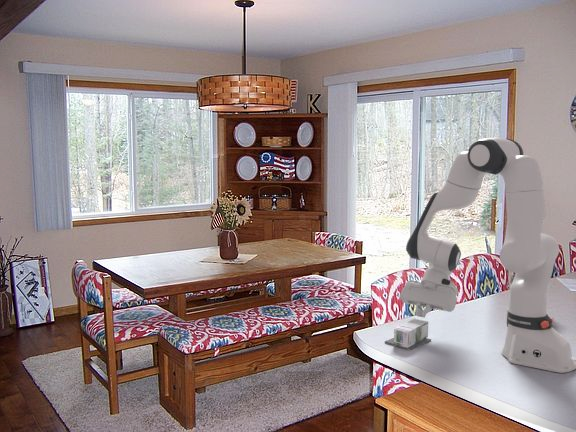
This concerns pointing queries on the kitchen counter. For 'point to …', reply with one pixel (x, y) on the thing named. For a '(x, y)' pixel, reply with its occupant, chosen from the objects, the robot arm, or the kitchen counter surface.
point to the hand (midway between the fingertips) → (419, 316)
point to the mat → (426, 340)
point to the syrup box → (410, 333)
